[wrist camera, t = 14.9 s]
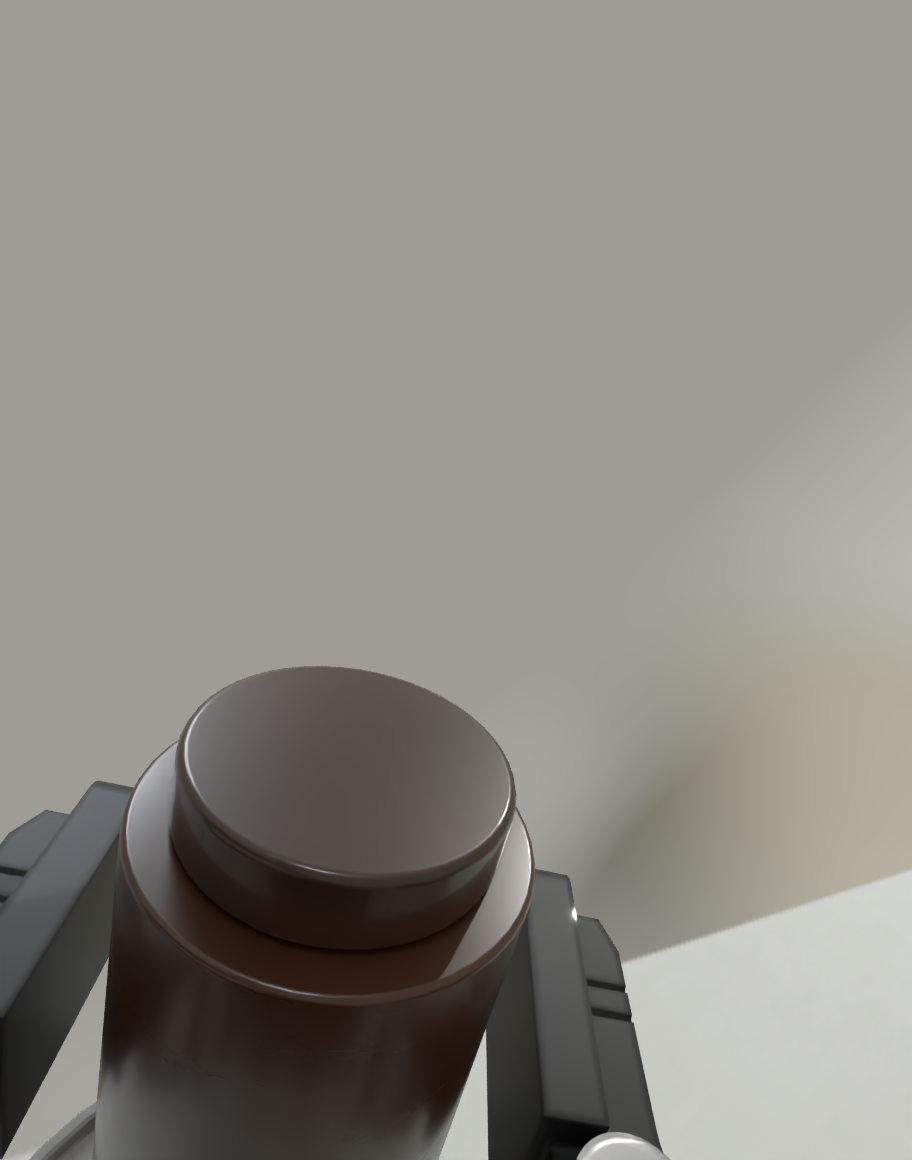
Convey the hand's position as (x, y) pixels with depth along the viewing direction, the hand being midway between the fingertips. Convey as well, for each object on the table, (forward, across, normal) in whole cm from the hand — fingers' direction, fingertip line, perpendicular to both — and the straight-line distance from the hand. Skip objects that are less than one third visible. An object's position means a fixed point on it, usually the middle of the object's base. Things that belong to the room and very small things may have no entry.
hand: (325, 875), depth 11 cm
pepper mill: (-3, 0, +6) cm, 6 cm away
